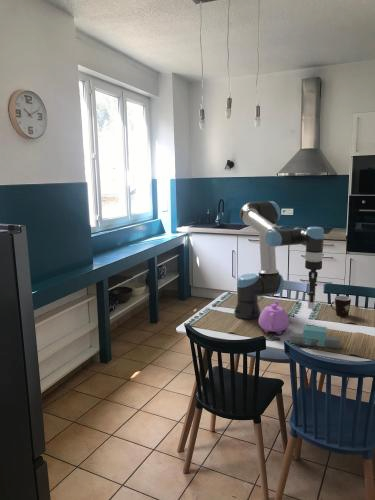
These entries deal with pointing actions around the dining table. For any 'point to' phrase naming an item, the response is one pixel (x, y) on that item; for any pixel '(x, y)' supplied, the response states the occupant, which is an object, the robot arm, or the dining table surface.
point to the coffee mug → (342, 305)
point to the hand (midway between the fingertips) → (311, 303)
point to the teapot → (274, 318)
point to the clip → (314, 334)
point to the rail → (315, 341)
